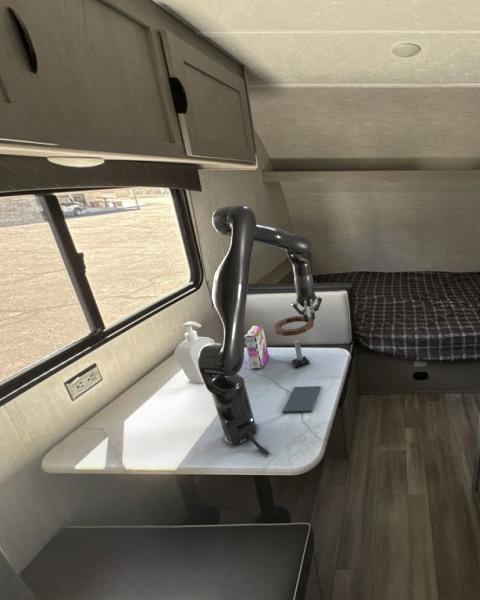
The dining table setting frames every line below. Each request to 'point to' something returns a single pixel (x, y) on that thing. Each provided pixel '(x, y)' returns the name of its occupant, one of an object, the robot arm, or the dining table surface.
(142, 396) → the dining table surface
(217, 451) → the dining table surface
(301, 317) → the ring
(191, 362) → the soap bottle
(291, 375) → the dining table surface
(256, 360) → the candy bar box
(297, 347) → the stand
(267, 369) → the dining table surface
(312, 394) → the mat
